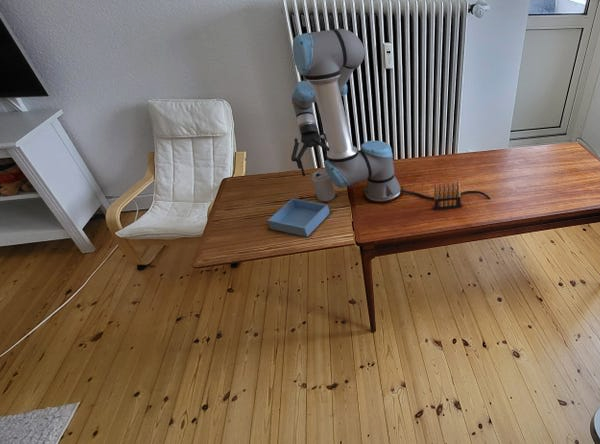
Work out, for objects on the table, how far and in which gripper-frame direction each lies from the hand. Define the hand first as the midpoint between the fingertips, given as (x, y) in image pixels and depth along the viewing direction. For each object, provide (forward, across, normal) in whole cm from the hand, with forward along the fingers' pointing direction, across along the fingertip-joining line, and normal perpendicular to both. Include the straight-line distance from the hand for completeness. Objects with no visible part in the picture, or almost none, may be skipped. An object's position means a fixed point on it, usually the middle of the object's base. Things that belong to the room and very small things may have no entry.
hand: (320, 171), depth 163 cm
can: (+12, 0, +2) cm, 13 cm away
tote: (+21, +12, +11) cm, 27 cm away
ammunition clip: (+32, -45, +22) cm, 59 cm away
